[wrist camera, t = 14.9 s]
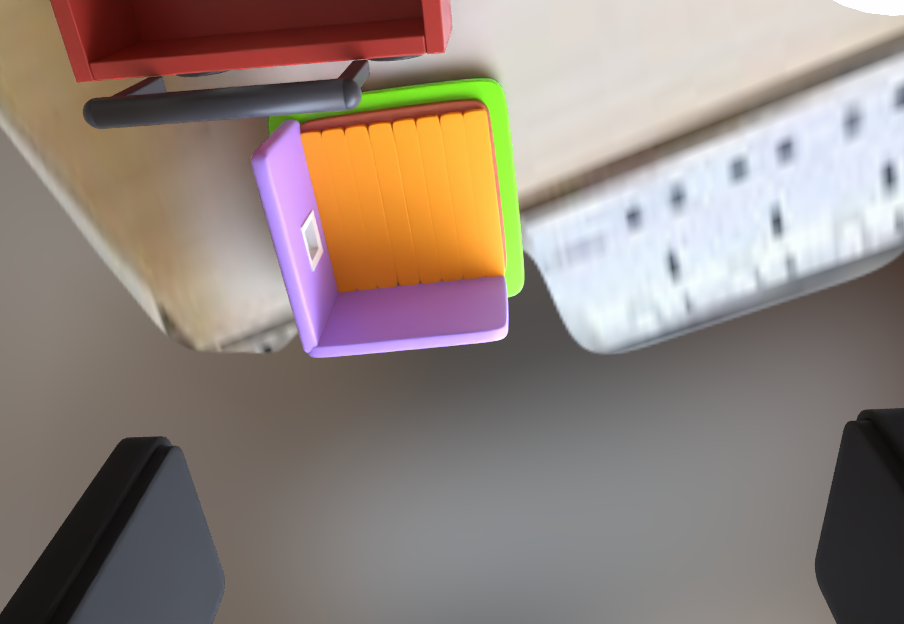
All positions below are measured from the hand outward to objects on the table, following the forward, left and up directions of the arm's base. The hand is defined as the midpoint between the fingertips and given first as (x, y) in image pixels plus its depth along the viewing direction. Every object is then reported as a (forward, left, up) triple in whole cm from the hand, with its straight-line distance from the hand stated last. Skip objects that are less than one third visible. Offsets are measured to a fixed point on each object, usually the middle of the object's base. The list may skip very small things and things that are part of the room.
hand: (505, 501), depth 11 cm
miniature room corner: (+5, +6, -28) cm, 30 cm away
